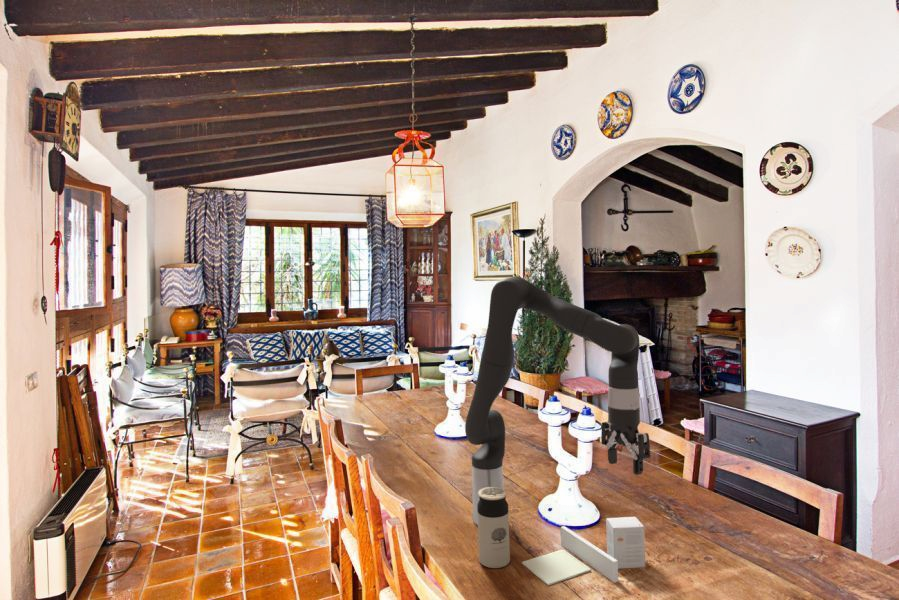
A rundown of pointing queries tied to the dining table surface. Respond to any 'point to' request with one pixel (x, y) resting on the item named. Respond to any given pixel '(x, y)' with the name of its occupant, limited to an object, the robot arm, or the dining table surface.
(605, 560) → the white wall
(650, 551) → the dining table surface
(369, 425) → the dining table surface
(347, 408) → the dining table surface
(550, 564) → the sage mat
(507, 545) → the travel mug
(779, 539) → the dining table surface
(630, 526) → the small box
